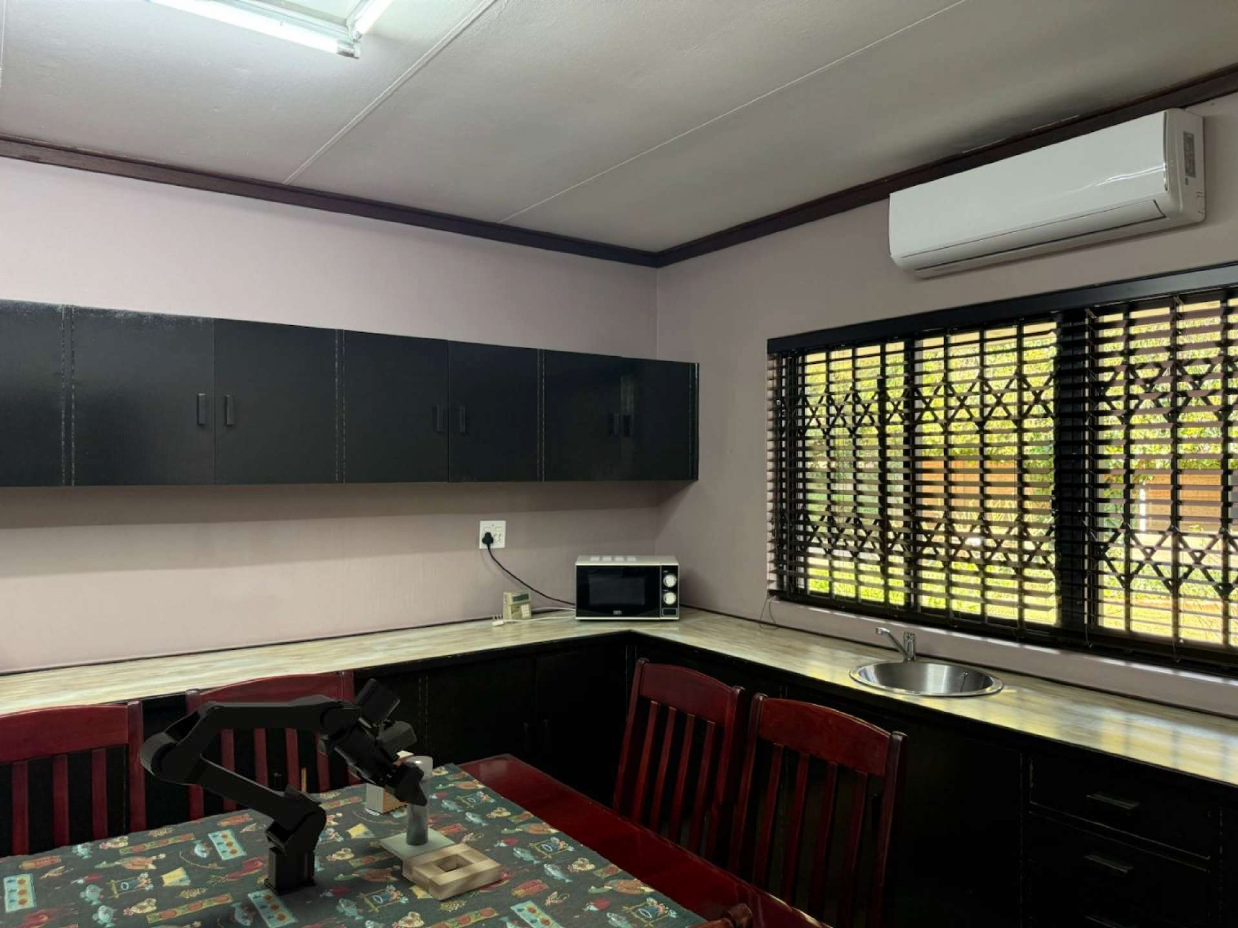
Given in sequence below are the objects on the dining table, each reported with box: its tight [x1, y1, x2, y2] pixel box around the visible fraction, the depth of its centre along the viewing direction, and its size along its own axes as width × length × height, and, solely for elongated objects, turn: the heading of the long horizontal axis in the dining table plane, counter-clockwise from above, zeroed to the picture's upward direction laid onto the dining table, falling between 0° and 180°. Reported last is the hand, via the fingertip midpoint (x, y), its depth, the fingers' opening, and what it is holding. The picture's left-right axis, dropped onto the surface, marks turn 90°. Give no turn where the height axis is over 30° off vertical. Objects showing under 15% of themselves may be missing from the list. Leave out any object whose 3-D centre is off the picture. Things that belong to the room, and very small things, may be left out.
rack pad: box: [379, 826, 456, 862], centre depth 166 cm, size 10×10×1 cm
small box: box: [365, 750, 415, 814], centre depth 187 cm, size 8×6×10 cm
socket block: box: [402, 842, 502, 901], centre depth 154 cm, size 12×12×2 cm
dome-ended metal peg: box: [405, 755, 434, 846], centre depth 166 cm, size 5×5×15 cm
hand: (412, 796), depth 166 cm, fingers open, 9 cm apart
